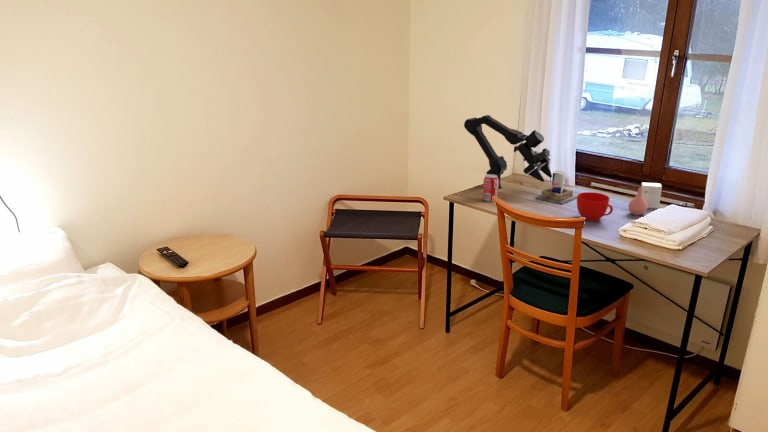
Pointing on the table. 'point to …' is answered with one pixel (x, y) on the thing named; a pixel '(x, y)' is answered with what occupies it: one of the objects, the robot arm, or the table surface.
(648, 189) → the small box
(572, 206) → the table surface
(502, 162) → the robot arm
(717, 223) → the table surface
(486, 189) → the soda can
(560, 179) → the energy drink
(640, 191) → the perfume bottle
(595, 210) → the ceramic cup
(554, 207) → the table surface
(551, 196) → the keeper collar
